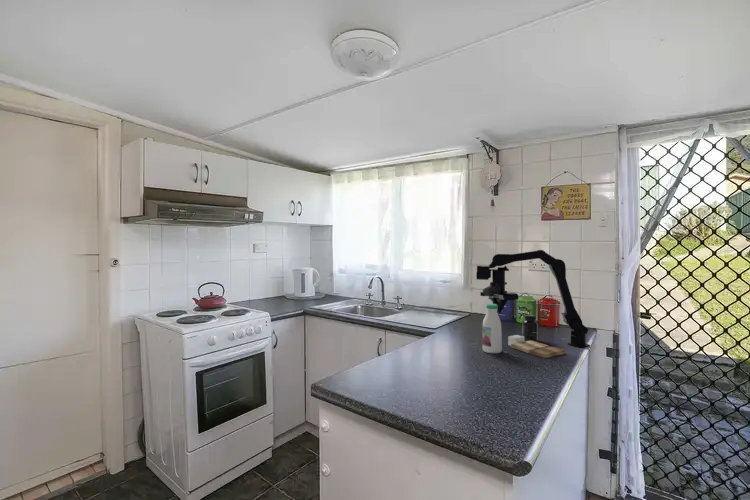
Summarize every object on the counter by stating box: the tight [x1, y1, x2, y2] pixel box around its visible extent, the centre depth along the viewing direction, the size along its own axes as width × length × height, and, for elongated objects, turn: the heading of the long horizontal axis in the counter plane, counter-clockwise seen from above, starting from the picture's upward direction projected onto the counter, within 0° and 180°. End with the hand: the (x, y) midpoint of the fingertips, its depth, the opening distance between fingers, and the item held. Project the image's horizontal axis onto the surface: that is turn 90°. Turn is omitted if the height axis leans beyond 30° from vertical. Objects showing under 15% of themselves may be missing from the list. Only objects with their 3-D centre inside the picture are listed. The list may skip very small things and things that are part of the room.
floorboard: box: [529, 346, 566, 359], centre depth 146 cm, size 13×7×2 cm, turn 118°
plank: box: [510, 340, 550, 354], centre depth 154 cm, size 13×9×2 cm
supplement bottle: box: [521, 314, 539, 342], centre depth 167 cm, size 7×7×12 cm
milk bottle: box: [482, 303, 503, 354], centre depth 150 cm, size 8×8×20 cm
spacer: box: [507, 334, 525, 347], centre depth 160 cm, size 6×4×4 cm, turn 122°
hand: (498, 312), depth 169 cm, fingers closed
